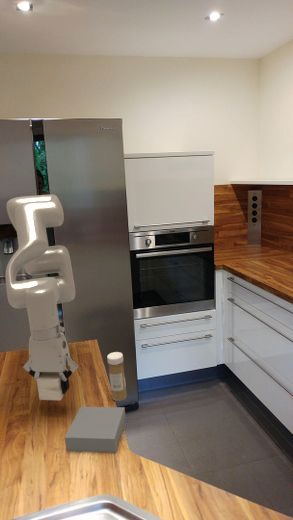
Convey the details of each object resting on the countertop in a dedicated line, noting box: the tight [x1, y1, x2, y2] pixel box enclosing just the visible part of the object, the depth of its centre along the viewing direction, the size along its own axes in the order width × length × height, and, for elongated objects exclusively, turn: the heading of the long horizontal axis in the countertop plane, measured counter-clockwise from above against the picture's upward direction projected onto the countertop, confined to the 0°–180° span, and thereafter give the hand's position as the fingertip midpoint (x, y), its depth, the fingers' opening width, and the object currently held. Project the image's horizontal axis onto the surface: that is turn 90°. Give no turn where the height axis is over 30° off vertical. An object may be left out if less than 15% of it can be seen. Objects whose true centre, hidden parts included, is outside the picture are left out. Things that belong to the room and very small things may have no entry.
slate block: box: [64, 406, 126, 454], centre depth 89 cm, size 12×12×4 cm
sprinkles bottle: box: [106, 351, 128, 402], centre depth 103 cm, size 5×5×14 cm
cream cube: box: [36, 372, 65, 401], centre depth 98 cm, size 6×6×6 cm
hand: (53, 390), depth 98 cm, fingers closed on cream cube, 6 cm apart
